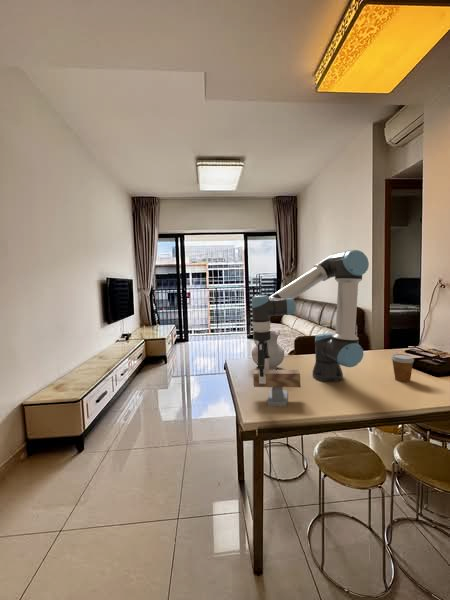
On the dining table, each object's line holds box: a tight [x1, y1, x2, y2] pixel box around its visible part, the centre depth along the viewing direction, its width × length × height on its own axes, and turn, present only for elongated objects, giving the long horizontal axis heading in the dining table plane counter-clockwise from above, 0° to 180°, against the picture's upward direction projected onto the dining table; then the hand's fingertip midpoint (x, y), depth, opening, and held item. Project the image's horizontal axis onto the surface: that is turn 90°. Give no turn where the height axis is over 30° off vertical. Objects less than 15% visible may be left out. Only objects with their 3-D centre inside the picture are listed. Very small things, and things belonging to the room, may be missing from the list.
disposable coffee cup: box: [391, 353, 415, 383], centre depth 133 cm, size 10×10×12 cm
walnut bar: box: [252, 369, 301, 388], centre depth 118 cm, size 20×5×6 cm, turn 83°
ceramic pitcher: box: [251, 329, 285, 370], centre depth 159 cm, size 22×20×25 cm
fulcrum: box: [266, 387, 288, 408], centre depth 118 cm, size 8×14×6 cm, turn 165°
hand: (264, 377), depth 119 cm, fingers open, 13 cm apart
